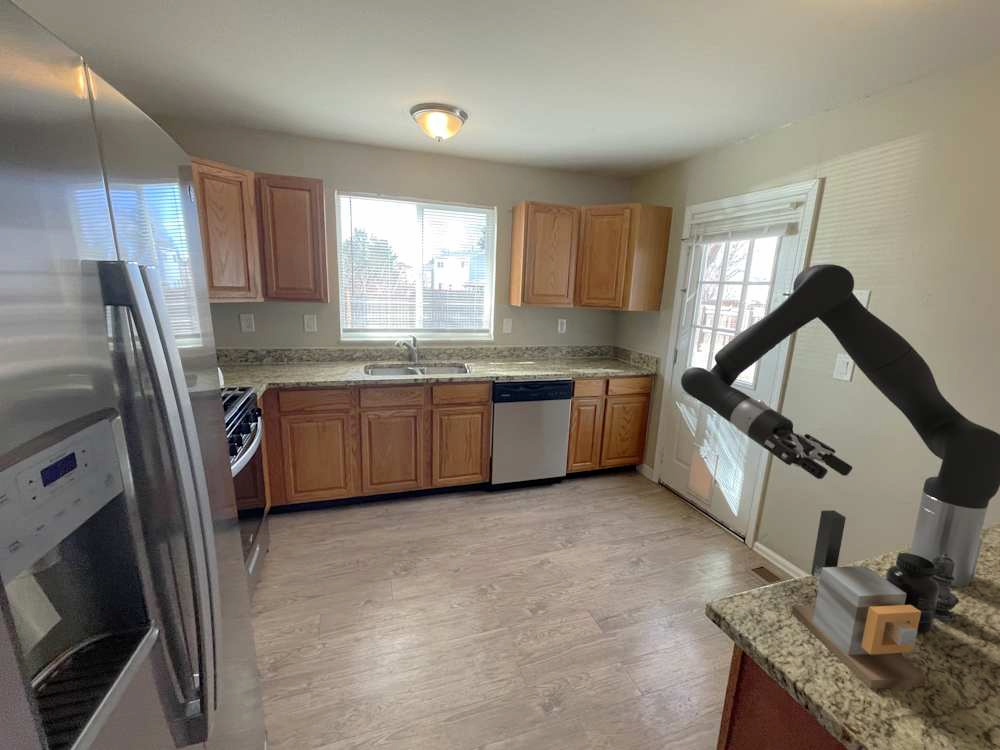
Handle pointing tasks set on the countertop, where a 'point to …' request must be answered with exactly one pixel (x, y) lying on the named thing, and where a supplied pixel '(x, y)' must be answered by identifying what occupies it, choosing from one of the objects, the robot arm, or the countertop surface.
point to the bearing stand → (857, 624)
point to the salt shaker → (944, 586)
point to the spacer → (876, 626)
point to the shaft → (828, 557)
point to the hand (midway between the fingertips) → (837, 473)
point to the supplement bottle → (916, 586)
